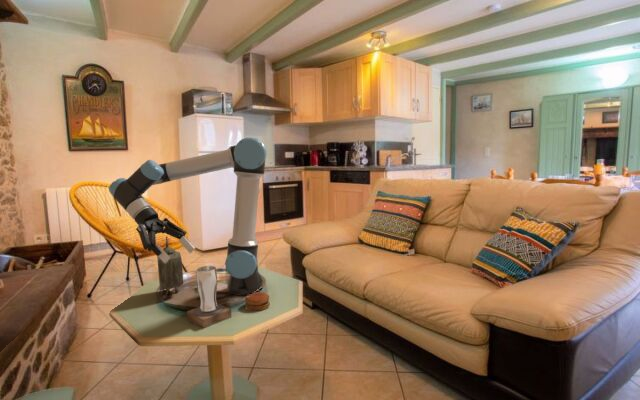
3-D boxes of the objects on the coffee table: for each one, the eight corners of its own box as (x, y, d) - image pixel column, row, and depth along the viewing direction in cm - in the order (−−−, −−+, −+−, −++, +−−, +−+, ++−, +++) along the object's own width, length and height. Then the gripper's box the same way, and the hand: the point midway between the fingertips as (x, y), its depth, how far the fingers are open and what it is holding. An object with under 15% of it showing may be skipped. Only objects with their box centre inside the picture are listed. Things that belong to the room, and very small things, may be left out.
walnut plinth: (214, 309, 137) (214, 300, 136) (231, 317, 129) (230, 308, 129) (187, 319, 128) (186, 310, 128) (203, 328, 121) (202, 319, 121)
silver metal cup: (208, 314, 124) (205, 272, 122) (194, 311, 127) (191, 270, 126) (223, 307, 130) (220, 266, 128) (209, 303, 133) (206, 264, 132)
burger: (272, 309, 135) (271, 297, 135) (247, 313, 133) (246, 301, 132) (267, 299, 145) (266, 288, 144) (244, 303, 142) (243, 292, 141)
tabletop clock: (160, 290, 159) (155, 234, 156) (182, 286, 163) (177, 232, 160) (160, 301, 146) (155, 241, 143) (184, 297, 150) (180, 238, 147)
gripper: (161, 215, 145) (196, 253, 142) (109, 226, 121) (149, 273, 118) (171, 202, 142) (206, 240, 140) (120, 211, 119) (161, 258, 116)
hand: (180, 255), depth 129 cm, fingers open, 13 cm apart
